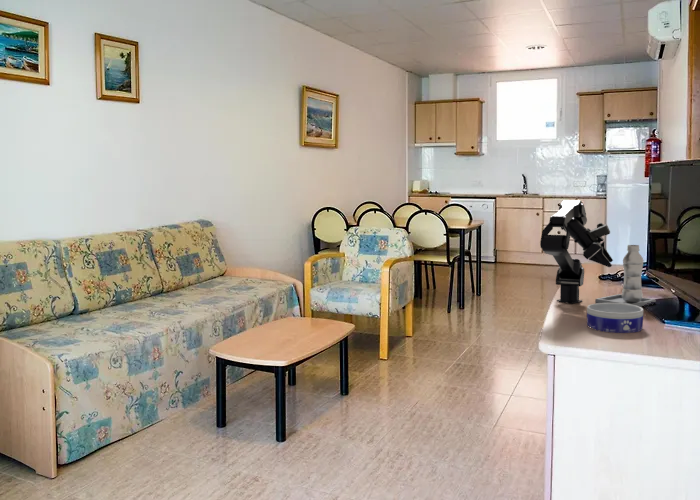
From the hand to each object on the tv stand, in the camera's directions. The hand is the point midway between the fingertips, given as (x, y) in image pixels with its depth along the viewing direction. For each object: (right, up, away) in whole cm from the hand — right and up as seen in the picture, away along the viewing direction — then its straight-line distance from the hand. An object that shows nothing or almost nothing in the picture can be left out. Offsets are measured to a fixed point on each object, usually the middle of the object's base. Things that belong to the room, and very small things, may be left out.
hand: (611, 263), depth 215 cm
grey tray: (+4, -14, -1) cm, 14 cm away
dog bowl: (-14, -18, -35) cm, 42 cm away
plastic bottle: (+6, -14, -3) cm, 15 cm away
